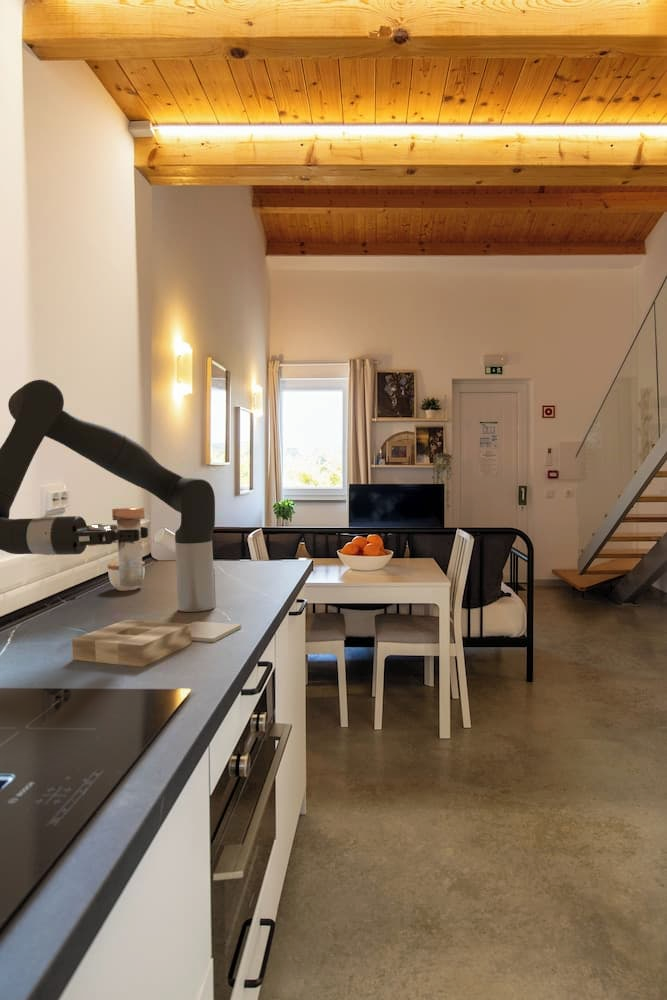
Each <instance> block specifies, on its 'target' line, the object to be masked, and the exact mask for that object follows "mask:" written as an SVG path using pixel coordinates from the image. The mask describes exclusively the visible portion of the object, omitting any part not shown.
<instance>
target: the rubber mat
mask: <svg viewBox="0 0 667 1000" xmlns="http://www.w3.org/2000/svg"><path fill="white" fill-rule="evenodd" d="M189 624H191V642H206V643H215V642H216V641H219V640H221V639H222V638H225V637H227V636H229V635H230V634H233V633H234V632H237V631H238V629H239V630H240V629H242V624H237V623H223V622H213V621H212V622H210V621H198V620H197V621H196V620H194V621H192V622H190V623H189Z"/></svg>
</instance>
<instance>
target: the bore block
mask: <svg viewBox="0 0 667 1000" xmlns="http://www.w3.org/2000/svg"><path fill="white" fill-rule="evenodd" d="M191 644H192V641H191V624H190V623H178V622H166V621H165V622H162V621H150V620H135V619H134V620H133V619H124V620H122V621H118V622H116V623H113V624H110V625H107V626H105V627H101V628H99V629H97V630H93V631H91V632H89V633H84V634H82V635H79V636H77V637H75V638H74V637H73V638H71V645H72V646H71V647H72V660H73V661H81V662H89V663H101V664H111V665H120V666H131V667H132V666H133V667H139V668H144V667H146V666H148V665H150V664H152V663H154V662H157V661H158V660H161V659H163V658H165V657H166V656H168V655H171V654H173V653H175V652H177V651H179V650H181V649H183V648H185V647H187V646H189V645H191Z"/></svg>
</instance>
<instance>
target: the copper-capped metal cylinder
mask: <svg viewBox="0 0 667 1000" xmlns="http://www.w3.org/2000/svg"><path fill="white" fill-rule="evenodd" d="M111 515H112V516H111V518H112V520H113V521H116V525H117V529H118V530H134V529H137V530H139V533H140V539H139V540H138V541H123V542H120V540H119V542H117V551H118V552H117V553H118V562H119V578H120V586H122V587H133V586H138V587H140V586H142V585H144V579H143V568H142V561H143V550H142V538H141V527H142V526H141V525H142V524H141V520H143V519H145V507H121V508H118V507H117V508H112V509H111Z"/></svg>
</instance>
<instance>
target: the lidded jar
mask: <svg viewBox="0 0 667 1000" xmlns="http://www.w3.org/2000/svg"><path fill="white" fill-rule="evenodd" d="M145 565H146V562H145V561H143V560H142V568H143V580H144V578H145V573H146V572H145V570H146V569H145V568H146V567H145ZM107 571H108V572H107V573H108V578H109V582H110V583H111V585H112V586H113V587H114V588H115V589H116V590H117V591H123V592H125V591H135V590H137V589H139V586H133V587H122V586H120V578H119V561H115V562H110V563H108V564H107Z"/></svg>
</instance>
